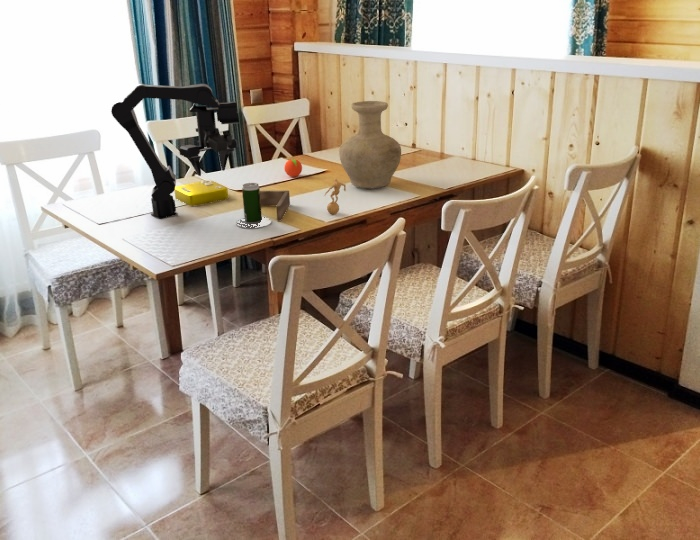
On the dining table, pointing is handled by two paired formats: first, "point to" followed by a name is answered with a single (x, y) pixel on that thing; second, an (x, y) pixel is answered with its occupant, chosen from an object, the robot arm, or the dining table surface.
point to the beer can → (251, 203)
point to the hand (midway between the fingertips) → (211, 173)
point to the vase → (370, 149)
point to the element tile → (201, 193)
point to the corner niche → (276, 201)
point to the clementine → (293, 167)
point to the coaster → (247, 224)
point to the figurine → (333, 206)
